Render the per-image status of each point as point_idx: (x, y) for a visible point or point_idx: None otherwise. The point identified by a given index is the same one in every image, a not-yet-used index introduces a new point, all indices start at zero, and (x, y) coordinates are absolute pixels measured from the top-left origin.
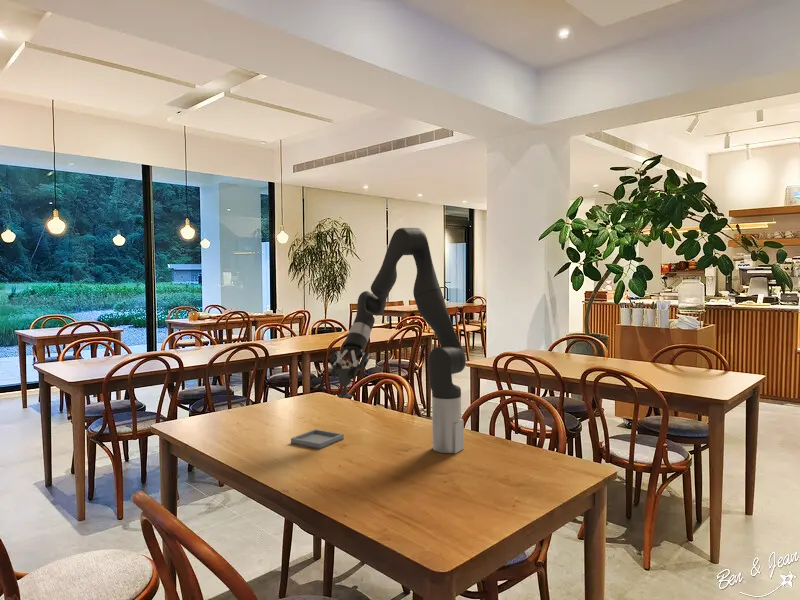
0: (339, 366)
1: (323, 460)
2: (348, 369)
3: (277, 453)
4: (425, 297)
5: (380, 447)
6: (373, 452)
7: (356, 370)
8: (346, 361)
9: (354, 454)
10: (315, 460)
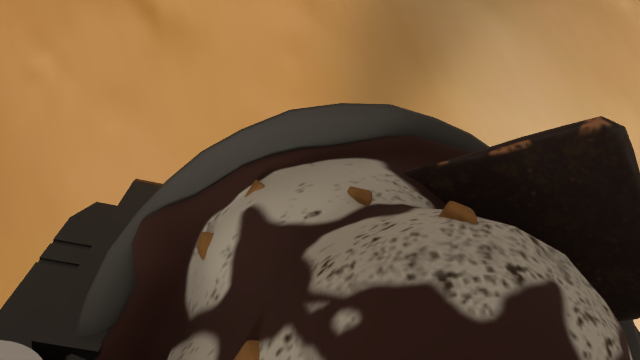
0: (472, 179)
1: (280, 8)
2: (191, 161)
3: (524, 73)
4: None
5: (24, 237)
6: (53, 146)
7: (4, 328)
8: (318, 309)
9: (152, 103)
10: (317, 4)
